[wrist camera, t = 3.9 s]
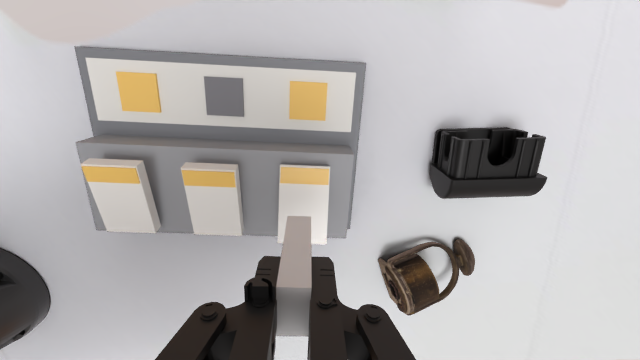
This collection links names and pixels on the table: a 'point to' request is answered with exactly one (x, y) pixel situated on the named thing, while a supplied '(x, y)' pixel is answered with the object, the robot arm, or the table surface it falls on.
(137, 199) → the rocker
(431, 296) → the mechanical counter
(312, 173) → the rocker
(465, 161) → the end cap
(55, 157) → the table surface
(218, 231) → the rocker middle
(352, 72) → the switch unit
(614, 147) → the table surface
